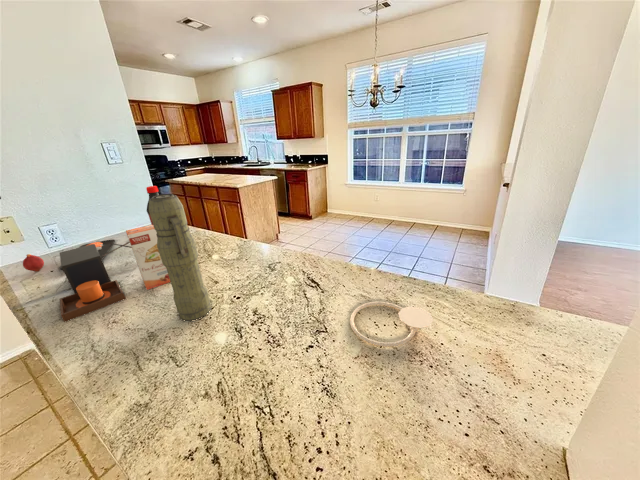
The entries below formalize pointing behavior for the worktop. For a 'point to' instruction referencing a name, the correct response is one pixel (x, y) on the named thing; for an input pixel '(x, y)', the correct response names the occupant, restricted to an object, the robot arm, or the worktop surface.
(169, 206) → the thermos
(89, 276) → the charcoal grey box
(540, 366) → the worktop surface
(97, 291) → the hat
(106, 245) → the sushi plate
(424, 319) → the hand towel holder
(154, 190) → the cola bottle
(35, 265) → the onion
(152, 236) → the cracker box
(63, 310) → the tray
